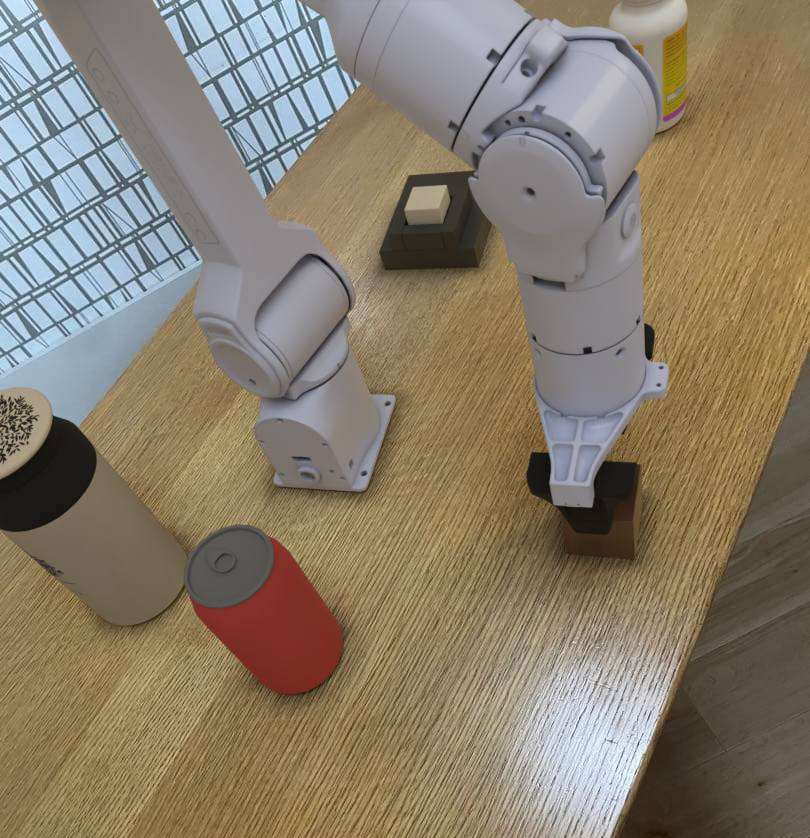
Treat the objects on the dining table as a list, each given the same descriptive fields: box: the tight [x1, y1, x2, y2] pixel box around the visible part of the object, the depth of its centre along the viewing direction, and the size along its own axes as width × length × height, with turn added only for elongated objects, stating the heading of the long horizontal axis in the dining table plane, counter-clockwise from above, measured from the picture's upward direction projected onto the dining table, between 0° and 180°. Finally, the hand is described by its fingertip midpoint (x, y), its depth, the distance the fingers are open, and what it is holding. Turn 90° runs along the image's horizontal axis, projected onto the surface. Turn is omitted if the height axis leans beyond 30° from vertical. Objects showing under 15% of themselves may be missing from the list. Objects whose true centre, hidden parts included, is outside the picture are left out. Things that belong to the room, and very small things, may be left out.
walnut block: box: [560, 463, 644, 560], centre depth 55 cm, size 4×4×4 cm
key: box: [404, 185, 450, 225], centre depth 74 cm, size 3×3×2 cm
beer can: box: [183, 523, 344, 695], centre depth 53 cm, size 7×7×12 cm
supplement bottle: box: [608, 0, 689, 134], centre depth 75 cm, size 7×7×13 cm
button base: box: [378, 169, 493, 271], centre depth 77 cm, size 11×9×4 cm
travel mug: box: [0, 386, 188, 626], centre depth 57 cm, size 8×8×18 cm
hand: (600, 477), depth 52 cm, fingers open, 7 cm apart
